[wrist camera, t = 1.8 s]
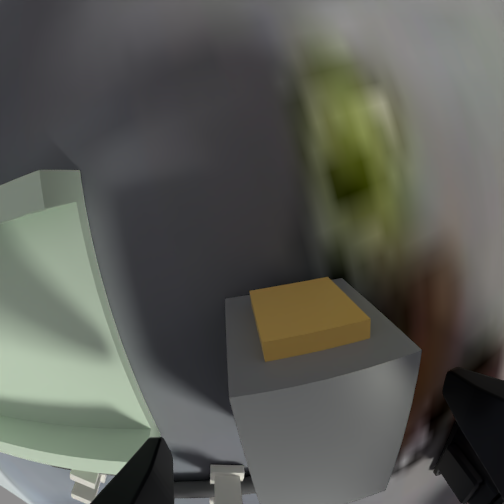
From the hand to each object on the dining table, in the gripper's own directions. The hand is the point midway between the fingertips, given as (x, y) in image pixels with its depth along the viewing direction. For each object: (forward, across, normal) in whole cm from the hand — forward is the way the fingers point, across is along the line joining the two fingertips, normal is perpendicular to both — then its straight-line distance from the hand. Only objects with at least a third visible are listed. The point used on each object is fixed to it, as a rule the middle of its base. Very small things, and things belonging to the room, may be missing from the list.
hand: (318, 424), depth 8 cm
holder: (+3, +12, -3) cm, 13 cm away
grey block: (+3, 0, 0) cm, 3 cm away
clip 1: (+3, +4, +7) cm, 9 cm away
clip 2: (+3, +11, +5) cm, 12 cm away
